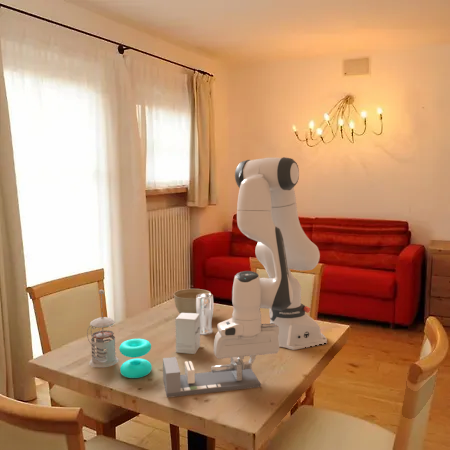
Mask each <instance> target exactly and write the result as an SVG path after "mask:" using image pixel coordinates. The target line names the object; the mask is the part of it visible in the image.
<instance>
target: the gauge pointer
mask: <svg viewBox="0 0 450 450" xmlns="http://www.w3.org/2000/svg"><path fill="white" fill-rule="evenodd" d="M195 370H196V369H195V368H194V364H193V362H192V361H191V360H186V361H184V375H185V376H186V379H187V382H188V384H189V383H195V372H196V371H195Z"/></svg>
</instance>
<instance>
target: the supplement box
mask: <svg viewBox="0 0 450 450" xmlns="http://www.w3.org/2000/svg"><path fill="white" fill-rule="evenodd" d="M200 347H201V334H200V314H198V313H179V314H178V315H177V317H176V318H175V353H176V354H177V353H178V354H190V355H191V354H192V355H195V354H196V353H197V352H198V349H199V348H200Z"/></svg>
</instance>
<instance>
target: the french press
mask: <svg viewBox="0 0 450 450" xmlns="http://www.w3.org/2000/svg"><path fill="white" fill-rule="evenodd" d="M104 293H105V291H104V290H103V289H99V290H98V294H99V295H100V303H101V307H103V294H104ZM103 316H104V315H103V313H101V317H98V318H97V317H96V318H94V319H93V320H91V321H90V323H89V326H88V327H87V331H86V336H87V340H88V342H89V344H90V345H91V359H90V361H89V362H88V364H89V366H91V367H92V368H108V367H112V366H115V365H116V364H118V362H119V358H118V357H117V356H116V337H115V335H114V334H115V332H114V331H112V330H104V328H108V327H112V326H113V325H115V323H116V321H115V320H114V319H113V318H111V317H106V316H104V317H103ZM96 328H102V330H97V331H94V332H93V333H92V329H93V330H95V329H96ZM89 329H90V336H91V341H90V339H89Z"/></svg>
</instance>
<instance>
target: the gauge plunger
mask: <svg viewBox="0 0 450 450" xmlns="http://www.w3.org/2000/svg"><path fill="white" fill-rule="evenodd" d="M210 370H211V371H210V372H212V373H216V372H226V371H232V373H233V375H234V377H235V379H236V380H237V381H240V380H242V363H241V361H240V360H239V358H238V357H231V358H230V363H228V364H218V365H217V364H216V365H211V367H210Z"/></svg>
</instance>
